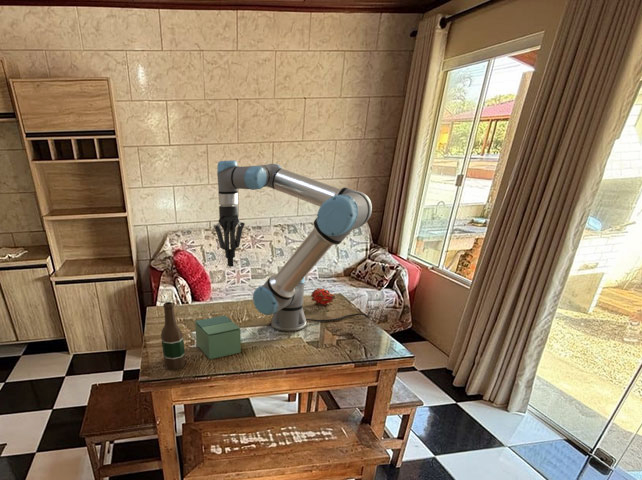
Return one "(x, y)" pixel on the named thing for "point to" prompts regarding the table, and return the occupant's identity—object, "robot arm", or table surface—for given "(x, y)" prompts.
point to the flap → (213, 321)
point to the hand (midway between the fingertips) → (230, 265)
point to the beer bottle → (172, 340)
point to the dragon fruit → (322, 296)
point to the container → (219, 339)
